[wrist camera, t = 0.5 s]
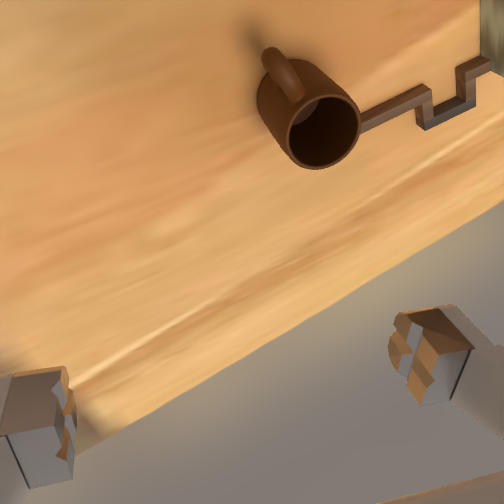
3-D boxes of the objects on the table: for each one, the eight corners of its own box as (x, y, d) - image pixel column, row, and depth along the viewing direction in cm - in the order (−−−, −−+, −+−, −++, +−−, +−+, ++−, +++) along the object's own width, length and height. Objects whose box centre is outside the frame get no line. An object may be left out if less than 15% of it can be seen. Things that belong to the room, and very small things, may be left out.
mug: (214, 55, 43) (238, 92, 36) (279, 0, 41) (317, 27, 34) (279, 142, 50) (309, 186, 43) (335, 98, 49) (376, 136, 42)
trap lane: (298, -97, 37) (316, -94, 34) (491, -197, 36) (526, -203, 33) (357, 153, 54) (372, 170, 51) (488, 89, 53) (511, 102, 50)
